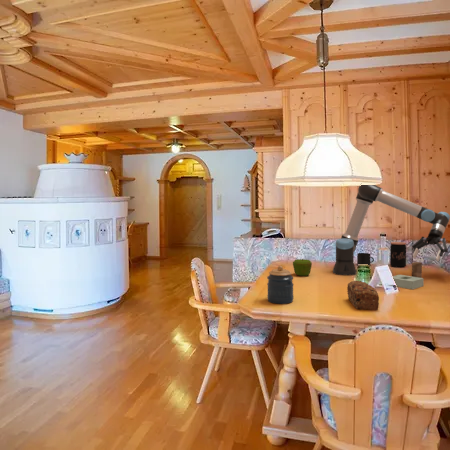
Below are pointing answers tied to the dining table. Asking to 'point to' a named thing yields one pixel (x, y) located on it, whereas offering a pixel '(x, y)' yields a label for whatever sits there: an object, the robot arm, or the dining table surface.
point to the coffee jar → (398, 254)
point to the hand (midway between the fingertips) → (425, 258)
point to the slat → (417, 269)
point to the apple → (302, 267)
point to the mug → (364, 258)
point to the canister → (280, 286)
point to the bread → (363, 295)
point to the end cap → (408, 281)
